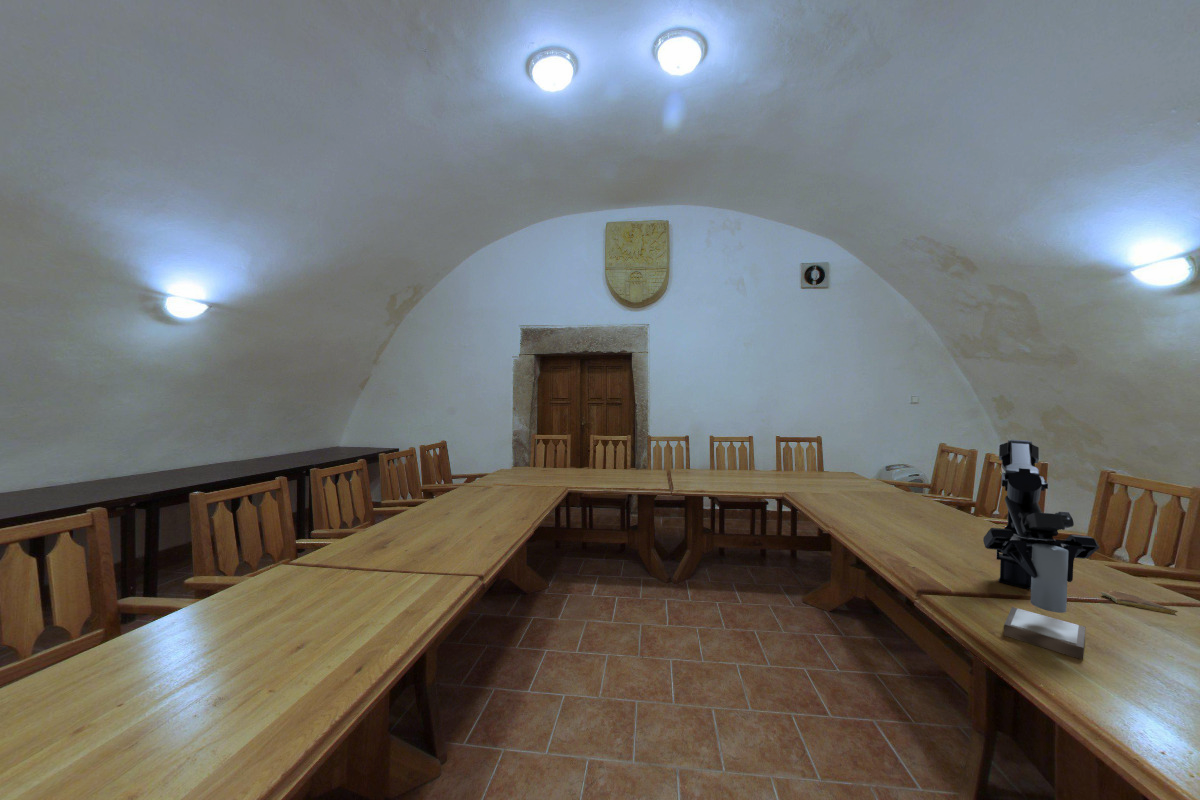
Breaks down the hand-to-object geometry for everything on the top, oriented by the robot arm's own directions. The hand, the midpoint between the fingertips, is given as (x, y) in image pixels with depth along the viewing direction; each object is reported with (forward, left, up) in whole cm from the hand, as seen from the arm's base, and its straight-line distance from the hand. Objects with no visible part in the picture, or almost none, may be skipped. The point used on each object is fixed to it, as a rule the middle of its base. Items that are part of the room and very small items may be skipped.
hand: (1052, 579), depth 97 cm
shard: (+13, +42, -14) cm, 46 cm away
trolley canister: (-1, +1, -7) cm, 7 cm away
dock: (-1, +1, -14) cm, 14 cm away
